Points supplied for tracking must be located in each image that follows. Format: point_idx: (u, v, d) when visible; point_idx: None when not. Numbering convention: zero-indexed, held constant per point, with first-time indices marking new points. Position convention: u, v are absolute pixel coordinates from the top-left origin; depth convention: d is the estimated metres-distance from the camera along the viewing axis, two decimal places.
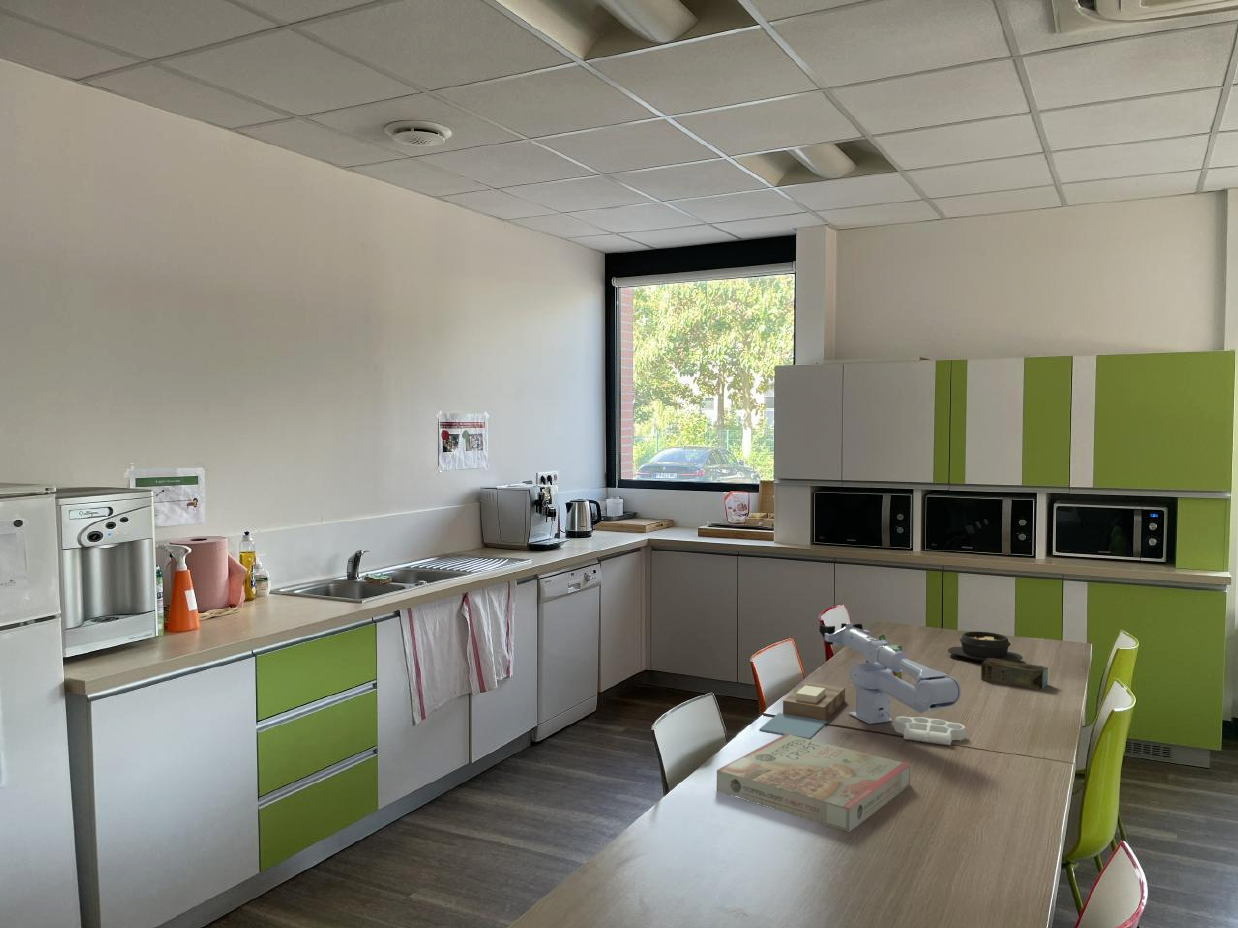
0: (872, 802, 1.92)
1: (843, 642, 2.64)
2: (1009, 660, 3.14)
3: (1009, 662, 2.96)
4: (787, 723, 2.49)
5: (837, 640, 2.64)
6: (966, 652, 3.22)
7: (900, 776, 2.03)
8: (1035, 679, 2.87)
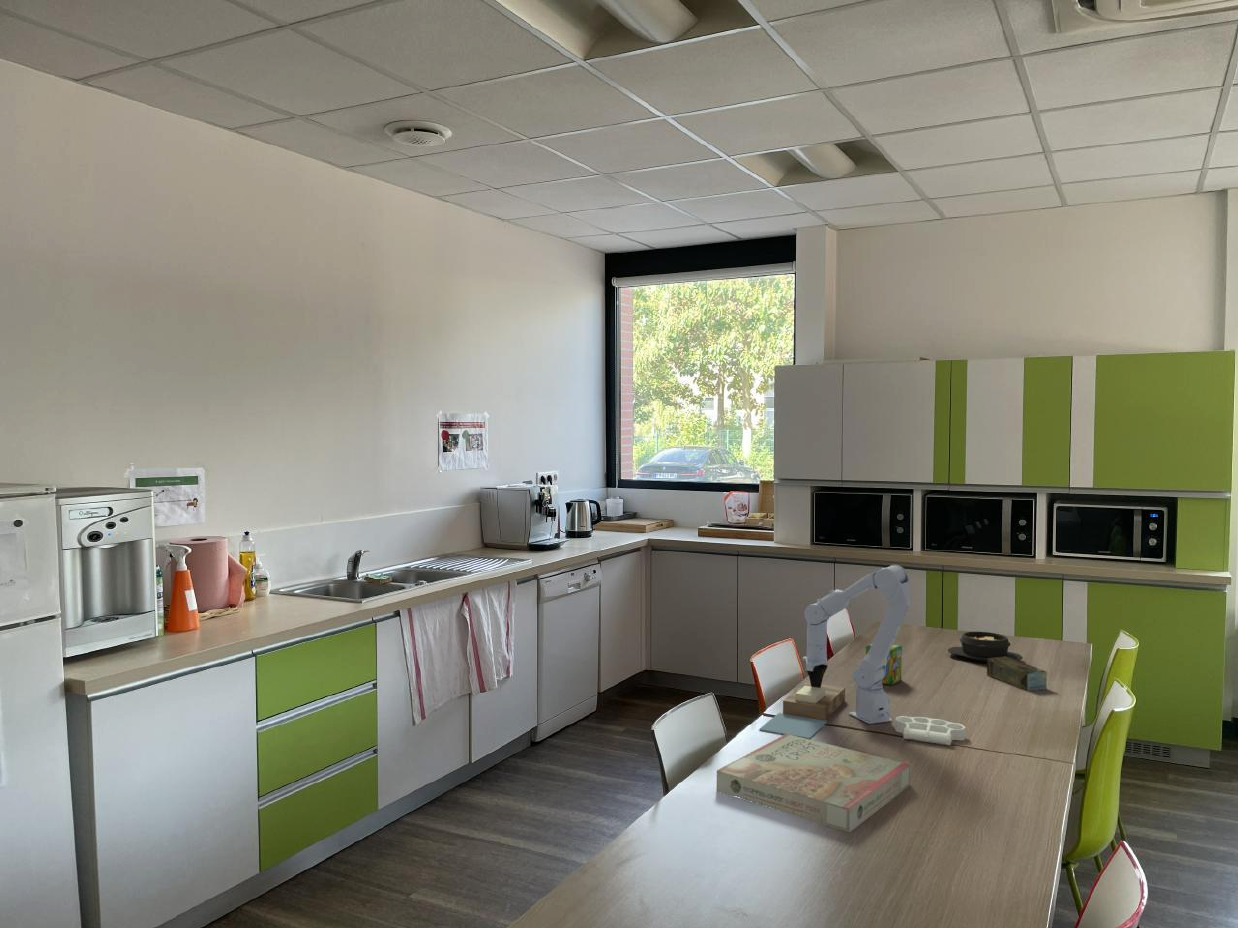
0: (872, 802, 1.92)
1: (818, 658, 2.63)
2: None
3: (1015, 662, 2.96)
4: (787, 723, 2.49)
5: None
6: (966, 652, 3.22)
7: (900, 776, 2.03)
8: (1022, 679, 2.86)
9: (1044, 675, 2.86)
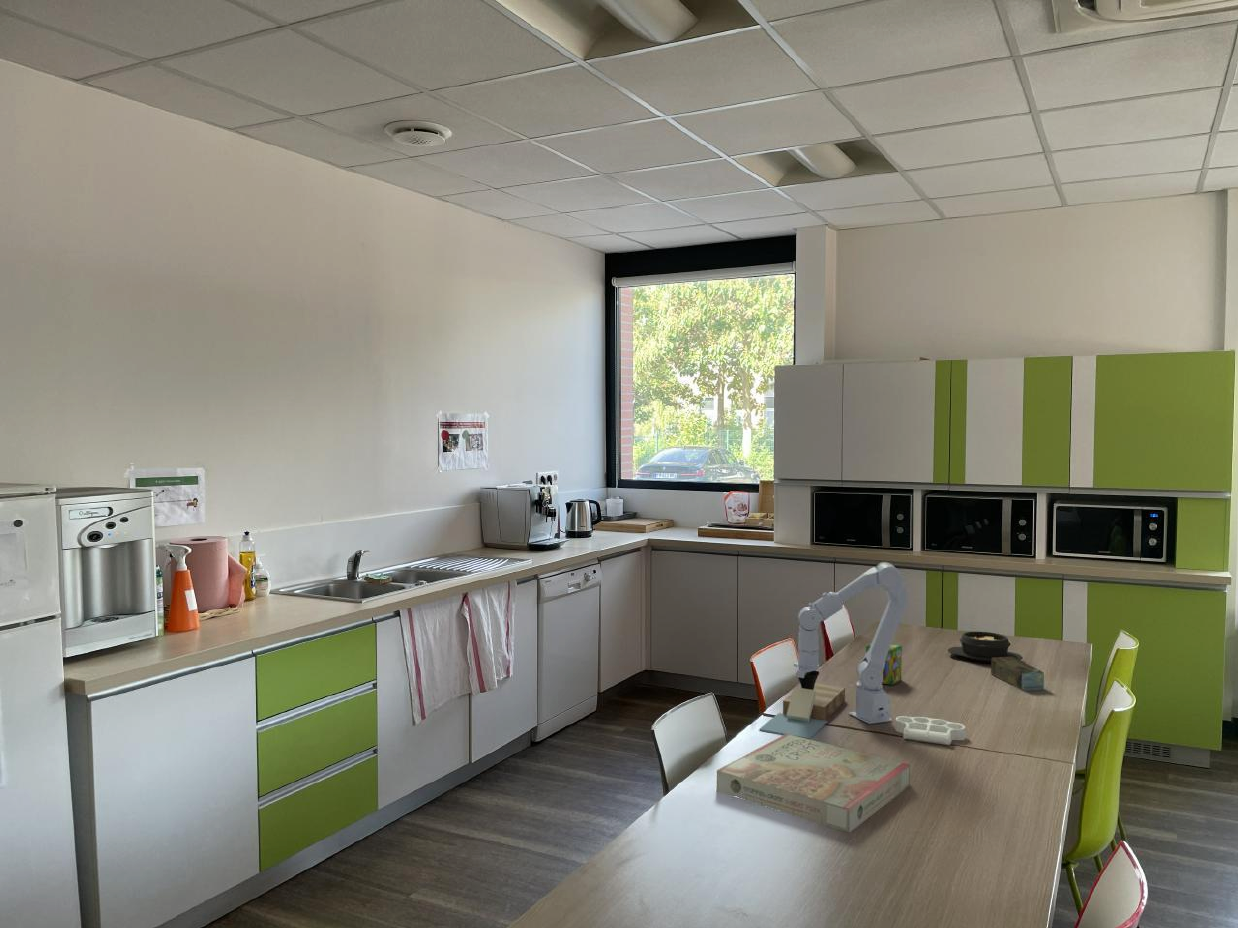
0: (872, 802, 1.92)
1: (809, 664, 2.56)
2: None
3: (1017, 662, 2.96)
4: (787, 723, 2.49)
5: None
6: (966, 652, 3.22)
7: (900, 776, 2.03)
8: (1018, 679, 2.87)
9: (1041, 676, 2.85)
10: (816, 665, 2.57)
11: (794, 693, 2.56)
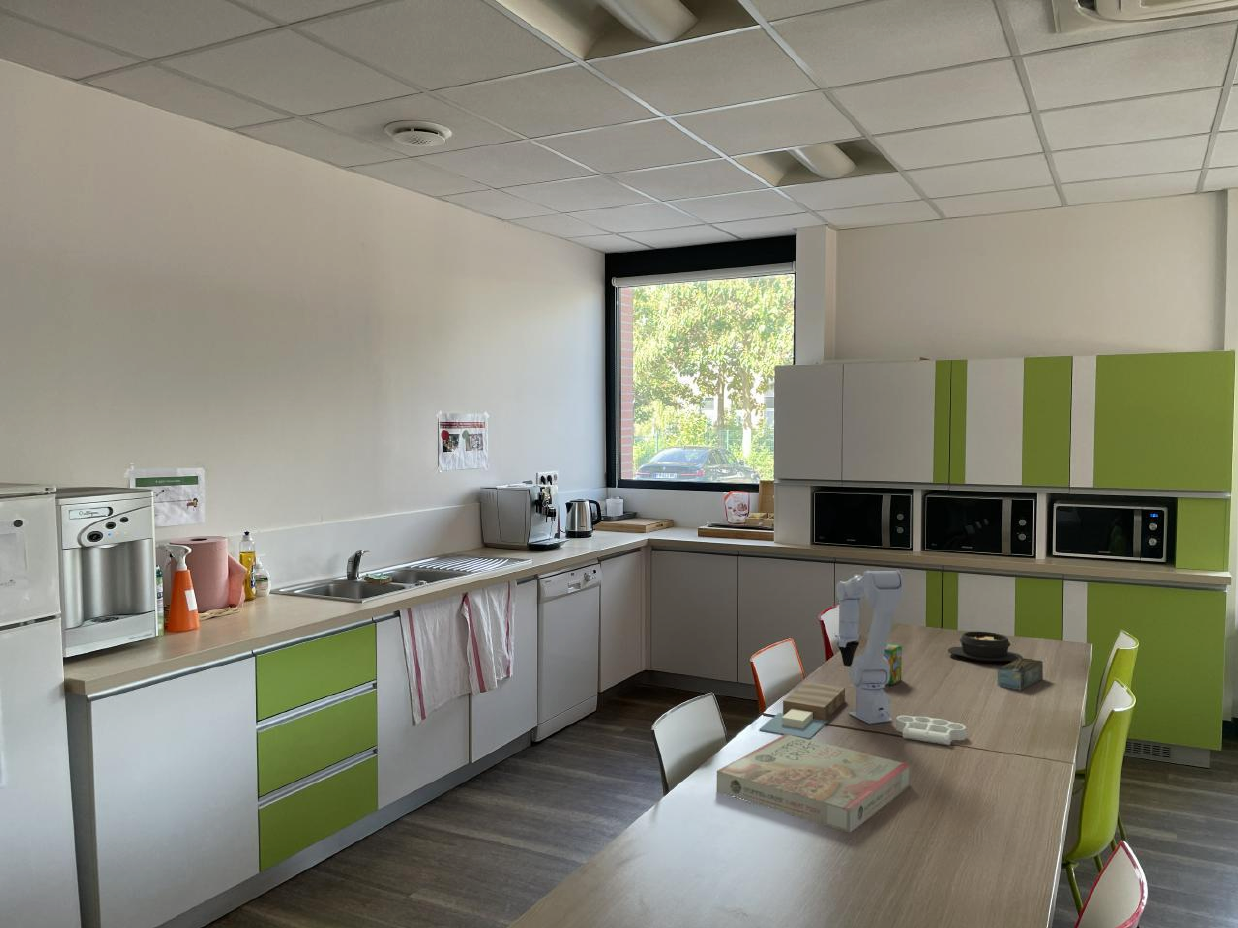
0: (873, 802, 1.92)
1: (850, 634, 2.69)
2: (1009, 660, 3.14)
3: (1026, 663, 2.94)
4: None
5: None
6: (966, 652, 3.22)
7: (900, 776, 2.03)
8: None
9: (1017, 675, 2.85)
10: (856, 635, 2.70)
11: (791, 710, 2.54)
